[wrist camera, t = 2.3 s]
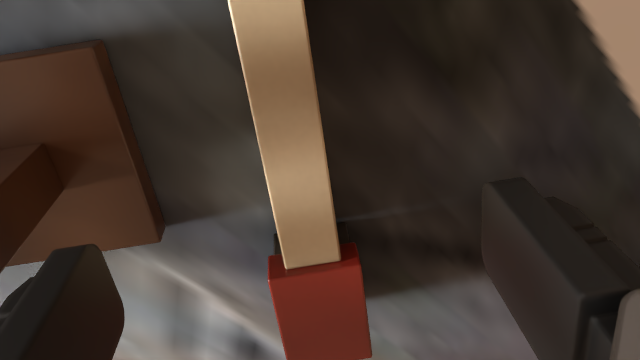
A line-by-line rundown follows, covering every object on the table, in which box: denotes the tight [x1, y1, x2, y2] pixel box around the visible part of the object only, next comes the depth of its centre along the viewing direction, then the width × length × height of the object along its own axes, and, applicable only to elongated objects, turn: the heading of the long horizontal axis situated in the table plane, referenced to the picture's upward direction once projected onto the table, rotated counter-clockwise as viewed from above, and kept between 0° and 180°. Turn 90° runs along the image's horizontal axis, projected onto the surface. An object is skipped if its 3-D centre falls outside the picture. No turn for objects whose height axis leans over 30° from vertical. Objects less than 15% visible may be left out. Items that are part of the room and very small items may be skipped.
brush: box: [228, 0, 372, 360], centre depth 18 cm, size 20×4×3 cm, turn 8°
